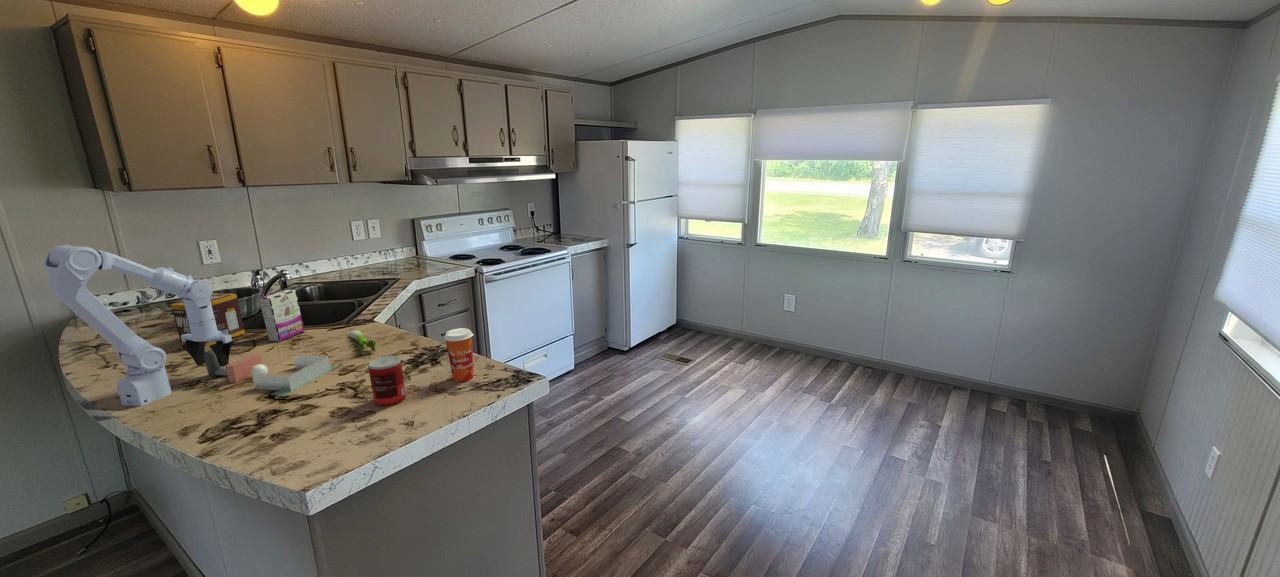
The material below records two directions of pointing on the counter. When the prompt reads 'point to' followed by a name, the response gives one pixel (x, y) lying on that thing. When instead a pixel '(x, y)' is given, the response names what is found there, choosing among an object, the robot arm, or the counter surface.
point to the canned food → (387, 380)
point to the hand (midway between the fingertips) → (213, 364)
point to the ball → (259, 370)
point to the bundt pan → (245, 299)
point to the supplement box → (223, 313)
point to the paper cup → (460, 353)
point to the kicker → (231, 367)
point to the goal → (294, 374)
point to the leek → (361, 340)
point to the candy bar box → (282, 315)
